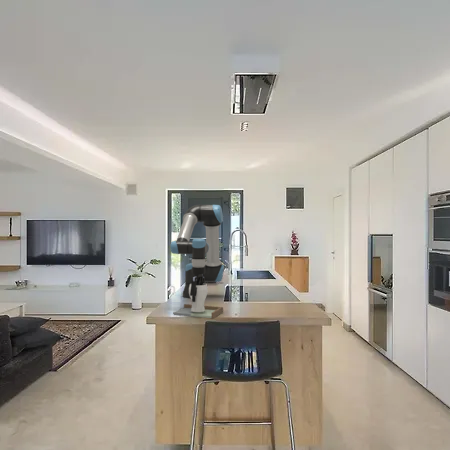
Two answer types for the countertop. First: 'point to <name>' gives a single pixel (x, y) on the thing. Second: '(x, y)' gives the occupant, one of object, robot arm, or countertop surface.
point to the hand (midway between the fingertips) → (198, 305)
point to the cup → (200, 297)
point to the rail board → (208, 313)
